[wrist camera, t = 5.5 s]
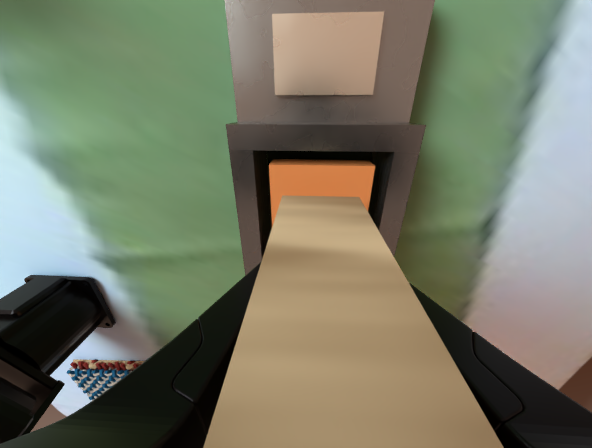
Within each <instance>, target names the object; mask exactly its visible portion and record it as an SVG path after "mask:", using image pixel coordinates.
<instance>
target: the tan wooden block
mask: <svg viewBox="0 0 592 448" xmlns="http://www.w3.org/2000/svg"><path fill="white" fill-rule="evenodd" d="M203 448H504V447H503V446H502V444H501V442H500V441H499V439H498V437H497V435H496V434H495V432H494V430H493V428H492V427H491V425H490V423H489V421H488V420H487V418H486V416H485V414H484V413H483V411H482V409H481V408H480V406H479V404H478V402H477V401H476V399H475V397H474V395H473V394H472V392H471V390H470V388H469V387H468V385H467V383H466V382H465V380H464V378H463V376H462V375H461V373H460V371H459V369H458V368H457V366H456V364H455V362H454V361H453V359H452V357H451V355H450V354H449V352H448V350H447V349H446V347H445V345H444V343H443V342H442V340H441V338H440V336H439V335H438V333H437V331H436V329H435V328H434V326H433V324H432V322H431V321H430V319H429V317H428V316H427V314H426V312H425V310H424V309H423V307H422V305H421V303H420V302H419V300H418V298H417V296H416V295H415V293H414V291H413V289H412V288H411V286H410V284H409V283H408V281H407V279H406V277H405V276H404V274H403V272H402V270H401V269H400V267H399V265H398V263H397V262H396V260H395V258H394V257H393V255H392V253H391V251H390V250H389V248H388V246H387V244H386V243H385V241H384V239H383V237H382V236H381V234H380V232H379V230H378V229H377V227H376V225H375V224H374V222H373V220H372V218H371V217H370V215H369V213H368V211H367V210H366V208H365V206H364V204H363V203H362V201H361V199H360V197H338V196H283V195H282V198H281V201H280V204H279V208H278V211H277V214H276V217H275V220H274V223H273V227H272V230H271V233H270V236H269V239H268V243H267V246H266V249H265V252H264V255H263V259H262V262H261V265H260V268H259V271H258V275H257V278H256V281H255V284H254V287H253V291H252V294H251V297H250V300H249V303H248V306H247V310H246V313H245V316H244V319H243V322H242V326H241V329H240V332H239V335H238V338H237V342H236V345H235V348H234V351H233V354H232V358H231V361H230V364H229V367H228V370H227V374H226V377H225V380H224V383H223V386H222V389H221V393H220V396H219V399H218V402H217V405H216V409H215V412H214V415H213V418H212V421H211V425H210V428H209V431H208V434H207V437H206V441H205V444H204V447H203Z"/></svg>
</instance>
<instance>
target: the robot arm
mask: <svg viewBox="0 0 592 448" xmlns="http://www.w3.org/2000/svg"><path fill="white" fill-rule="evenodd" d="M261 262H262V261H261ZM261 262H260V263H259V264H258V265H257V266H256V267H255V268H253V269H252V270H251V271H250V272H249V273H248V274H247V275H246V276H244V277H243V278H242V279H241V280H240V281H239V282H238V283H237V284H235V285H234V286H233V287H232V288H231V289H230V290H229V291H228V292H226V293H225V294H224V295H223V296H222V297H221V298H220V299H219V300H217V301H216V302H215V303H214V304H213V305H212V306H211V307H210V308H208V309H207V310H206V311H205V312H204V313H203V314H202V315H201V316H199V317H198V319H196V320H195V321H194V322H193V323H191V324H190V325H189V326H188V327H187V328H186V329H185V330H183V331H182V332H181V333H180V334H179V335H178V336H176V337H175V338H174V339H173V340H172V341H170V342H169V343H168V344H167V345H165V346H164V347H163V348H162V349H160V350H159V351H158V352H156V353H155V354H154V355H153V356H151V357H150V358H149V359H147V360H146V361H145V362H143V363H142V364H141V365H139V366H138V367H137V368H136V369H134V370H133V371H132V372H130V373H129V374H128V375H126V376H125V377H124V378H122V379H121V380H120V381H118V382H117V383H116V384H114V385H113V386H112V387H110V388H109V389H108V390H106V391H105V392H104V393H102V394H101V395H100V396H99V397H97V398H96V399H94V400H93V401H92V402H90V403H89V404H87V405H86V406H84V407H83V408H81V409H79V410H78V411H76V412H75V413H73V414H71V415H69V416H67V417H66V418H64V419H62V420H60V421H57V422H56V423H53V424H51V425H49V426H46V427H44V428H41V429H38V430H36V431H33V432H31V430H32V429H33V428H34V426H35V425H36V423H37V422H38V421H39V419H40V418H41V416H42V415H43V414H44V412H45V411H46V410H47V408H48V407H49V405H50V404H51V403H52V401H53V400H54V399H55V397H56V396H57V394H58V393H59V392H60V390H61V389H62V387H63V386H64V385H65V383H63V382H61V381H60V380H58V381H57V380H55V379H54V378H52V377H50V375H51V374H52V373H53V372H54V371H55V370H56V369H57V368H58V367H59V366H60V365H61V364H62V363H63V362H64V361H65V360H66V359H67V357H68V356H69V355H70V354H71V353H72V352H73V351H74V350H75V349H76V348H77V347H78V346H79V345H80V344H81V343H82V342H83V341H84V340H85V339H86V338H87V337H88V336H89V335H90V334H91V333H92V332H93V331H94V330H95V329H96V328H97V327H103V328H111V327H113V326H114V325H115V323H116V322H115V320H114V318H113V316H112V314H111V313H110V311H109V309H108V307H107V305H106V303H105V301H104V299H103V297H102V296H101V294H100V292H99V290H98V288H97V286H96V284H95V282H94V281H93V280H92V279H91V278H88V277H67V276H42V275H30V276H28V277H27V278H25V279H24V281H25V282H26V284H24V285H22V286H21V287H19V288H17V289H16V290H14V291H12V292H11V293H9V294H8V295H6V296H4V297H3V298H1V299H0V448H203V447H204V444H205V441H206V437H207V434H208V431H209V428H210V425H211V421H212V418H213V415H214V412H215V409H216V405H217V402H218V399H219V396H220V393H221V389H222V386H223V383H224V380H225V377H226V374H227V370H228V367H229V364H230V361H231V358H232V354H233V351H234V348H235V345H236V342H237V338H238V335H239V332H240V329H241V326H242V322H243V319H244V316H245V313H246V310H247V306H248V303H249V300H250V297H251V294H252V291H253V287H254V284H255V281H256V278H257V275H258V271H259V268H260V265H261ZM408 283H409V282H408ZM409 284H410V283H409ZM410 286H411V288H412V289H413V291H414V293H415V295H416V296H417V298H418V300H419V302H420V303H421V305H422V307H423V309H424V310H425V312H426V314H427V316H428V317H429V319H430V321H431V322H432V324H433V326H434V328H435V329H436V331H437V333H438V335H439V336H440V338H441V340H442V342H443V343H444V345H445V347H446V349H447V350H448V352H449V354H450V355H451V357H452V359H453V361H454V362H455V364H456V366H457V368H458V369H459V371H460V373H461V375H462V376H463V378H464V380H465V382H466V383H467V385H468V387H469V388H470V390H471V392H472V394H473V395H474V397H475V399H476V401H477V402H478V404H479V406H480V408H481V409H482V411H483V413H484V414H485V416H486V418H487V420H488V421H489V423H490V425H491V427H492V428H493V430H494V432H495V434H496V435H497V437H498V439H499V441H500V442H501V444H502V446H503V447H504V448H592V412H590V411H589V410H587V409H586V408H584V407H583V406H581V405H580V404H578V403H577V402H575V401H573V400H572V399H571V398H569V397H568V396H566V395H565V394H563V393H562V392H560V391H559V390H557V389H556V388H554V387H553V386H551V385H550V384H548V383H547V382H545V381H544V380H542V379H541V378H539V377H538V376H536V375H535V374H533V373H532V372H530V371H529V370H527V369H526V368H525V367H523V366H522V365H520V364H519V363H517V362H516V361H514V360H513V359H511V358H510V357H509V356H507V355H506V354H504V353H503V352H502V351H500V350H499V349H498V348H496V347H495V346H493V345H492V344H491V343H489V342H488V341H487V340H485V339H484V338H483V337H481V336H480V335H479V334H477V333H476V332H472V329H470V328H469V327H468V326H466V325H465V324H464V323H462V322H461V321H460V320H458V319H457V318H456V317H454V316H453V315H452V314H450V313H449V312H448V311H446V310H445V309H444V308H442V307H441V306H440V305H438V304H437V303H436V302H434V301H433V300H432V299H430V298H429V297H428V296H426V295H425V294H423V293H422V292H421V291H419V290H418V289H417V288H415V287H414V286H413V285H411V284H410ZM30 432H31V433H30Z"/></svg>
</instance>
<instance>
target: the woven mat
mask: <svg viewBox="0 0 592 448" xmlns="http://www.w3.org/2000/svg"><path fill="white" fill-rule="evenodd" d="M143 362H145V361H136V362H134V361H117V360H99V361H98V360H73V362H72V363H71V364H70V365H71V366H72V367H71V368H70V370H68V371H67V373H68V374H69V375H70V377H72V380H73V381H74V382H76V383H77V386H78V387H81V389H82V390H83V392H84V393H87V395H88V396H89V399H90V400H92V401H93V400H94V399H96V398H97V397H99V396H100V395H101V394H102V393H104V392H105V391H106V390H108V389H109V388H110V387H112V386H113V385H114V384H116V383H117V382H118V381H120V380H121V379H122V378H124V377H125V376H126V375H128V374H129V373H130V372H132V371H133V370H134V369H136V368H137V367H138V366H139V365H141V364H142V363H143ZM76 363H77V364H76ZM72 369H75V371H71V370H72ZM130 370H132V371H130ZM77 380H78V381H77Z"/></svg>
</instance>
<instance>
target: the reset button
mask: <svg viewBox="0 0 592 448" xmlns="http://www.w3.org/2000/svg"><path fill="white" fill-rule="evenodd" d="M374 171H375V166H374V165H373V164H372V163H371V162H370V161H369V160H304V159H273V160H272V161H271V163H270V164H269V176H270V195H271V213H272V227H273V223H274V220H275V217H276V214H277V211H278V208H279V204H280V201H281V198H282V195H283V196H338V197H360V199H361V201H362V203H363V204H364V206H365V208H366V210H367V211H368V208H369V202H370V196H371V189H372V183H373V177H374Z"/></svg>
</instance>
